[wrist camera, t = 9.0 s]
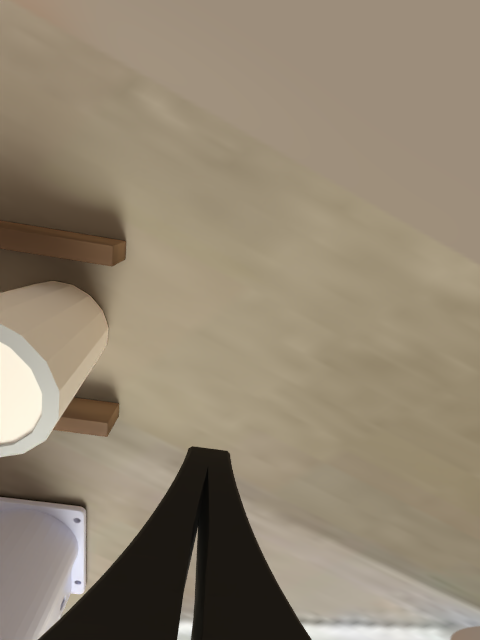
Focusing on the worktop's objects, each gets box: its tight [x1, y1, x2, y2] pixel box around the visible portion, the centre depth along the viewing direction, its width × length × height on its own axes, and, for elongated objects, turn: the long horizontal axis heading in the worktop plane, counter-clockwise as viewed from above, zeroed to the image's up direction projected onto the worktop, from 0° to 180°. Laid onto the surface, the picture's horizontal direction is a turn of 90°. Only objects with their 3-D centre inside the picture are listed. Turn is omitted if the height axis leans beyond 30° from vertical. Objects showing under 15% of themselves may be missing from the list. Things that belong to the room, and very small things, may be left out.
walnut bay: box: [0, 220, 126, 437], centre depth 18 cm, size 12×12×2 cm
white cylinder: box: [0, 281, 109, 457], centre depth 16 cm, size 7×7×7 cm
